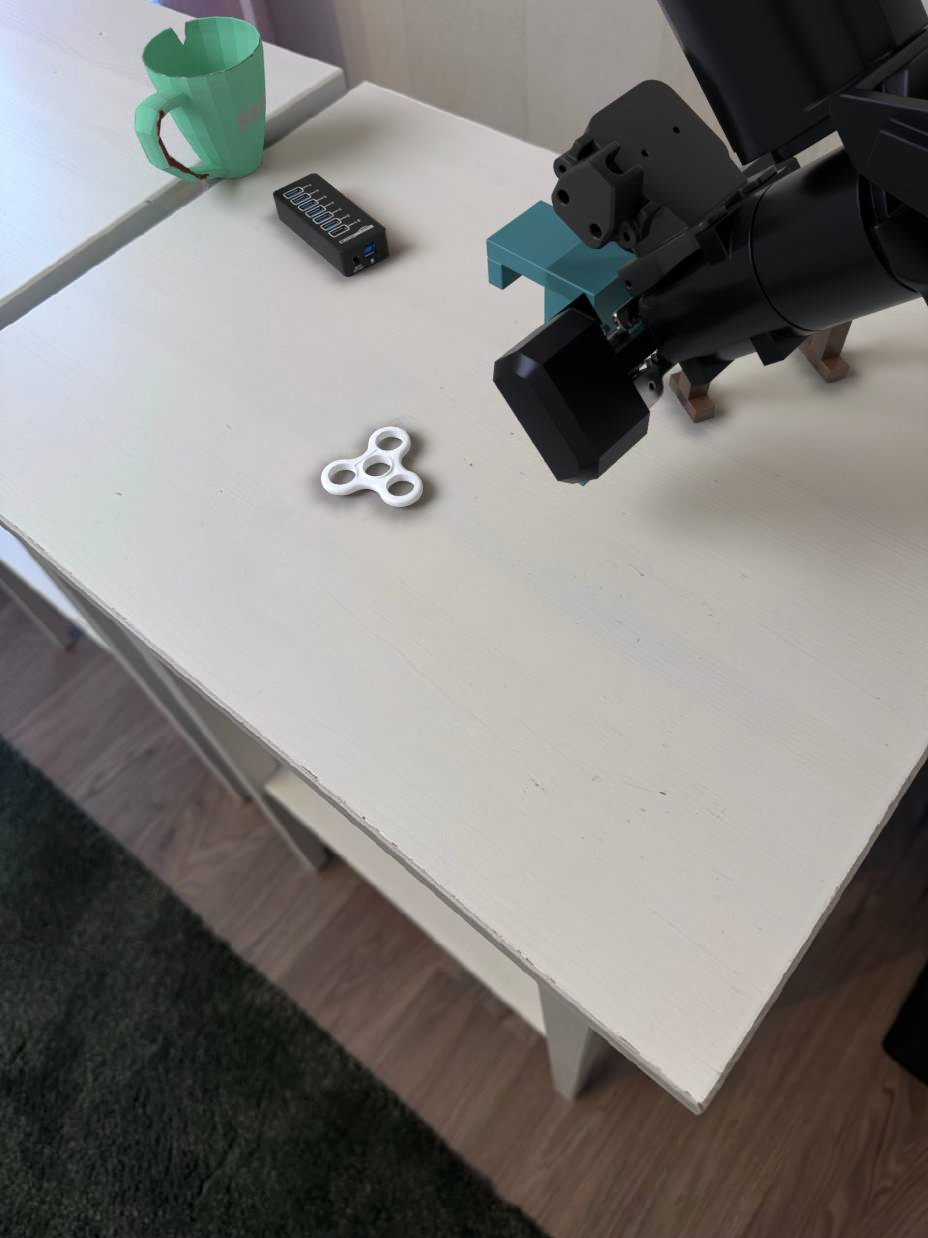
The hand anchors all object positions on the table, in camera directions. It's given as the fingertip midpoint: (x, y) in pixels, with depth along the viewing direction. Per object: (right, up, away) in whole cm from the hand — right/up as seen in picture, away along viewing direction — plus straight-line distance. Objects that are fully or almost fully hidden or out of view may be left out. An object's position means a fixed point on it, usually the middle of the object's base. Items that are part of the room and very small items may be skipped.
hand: (571, 355), depth 48 cm
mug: (-27, +26, +33) cm, 50 cm away
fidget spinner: (-11, -5, +13) cm, 18 cm away
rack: (+15, +3, +15) cm, 21 cm away
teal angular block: (0, -3, +6) cm, 7 cm away
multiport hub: (-17, +18, +28) cm, 37 cm away
